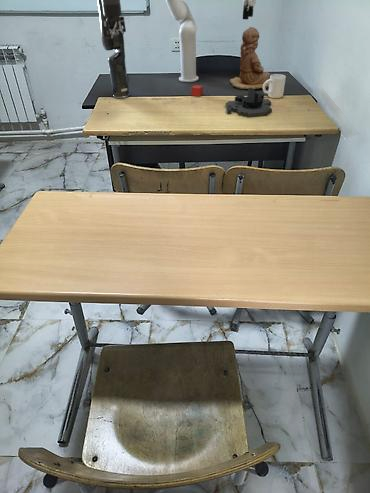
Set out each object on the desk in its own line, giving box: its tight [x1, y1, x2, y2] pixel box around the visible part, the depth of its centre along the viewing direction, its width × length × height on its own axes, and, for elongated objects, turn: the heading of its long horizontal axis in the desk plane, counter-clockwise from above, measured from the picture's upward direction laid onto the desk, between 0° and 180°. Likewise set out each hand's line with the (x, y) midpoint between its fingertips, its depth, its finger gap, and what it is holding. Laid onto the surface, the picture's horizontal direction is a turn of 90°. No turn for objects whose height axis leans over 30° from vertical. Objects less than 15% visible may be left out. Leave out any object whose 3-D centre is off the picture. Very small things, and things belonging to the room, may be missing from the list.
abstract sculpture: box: [224, 88, 273, 118], centre depth 181 cm, size 25×9×20 cm
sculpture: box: [229, 26, 271, 90], centre depth 208 cm, size 27×24×30 cm
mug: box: [262, 73, 287, 99], centre depth 195 cm, size 12×8×10 cm
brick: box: [190, 84, 204, 98], centre depth 203 cm, size 5×5×4 cm
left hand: (116, 45), depth 161 cm, fingers open, 8 cm apart
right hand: (247, 17), depth 204 cm, fingers open, 9 cm apart
